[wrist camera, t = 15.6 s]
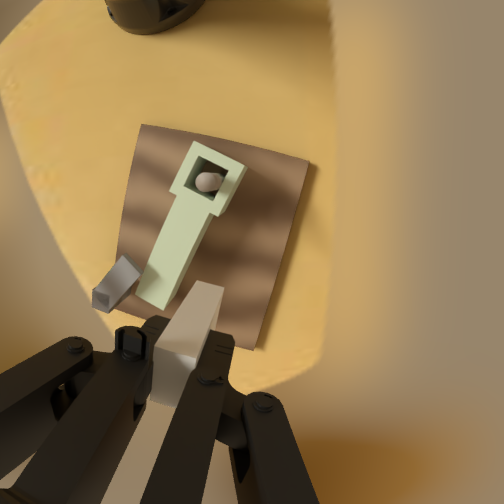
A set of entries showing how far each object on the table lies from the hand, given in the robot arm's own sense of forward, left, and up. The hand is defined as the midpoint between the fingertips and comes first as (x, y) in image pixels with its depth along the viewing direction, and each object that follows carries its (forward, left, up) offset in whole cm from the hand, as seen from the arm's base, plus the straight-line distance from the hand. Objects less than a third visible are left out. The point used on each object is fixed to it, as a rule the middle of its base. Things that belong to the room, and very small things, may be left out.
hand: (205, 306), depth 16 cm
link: (+1, -6, -22) cm, 23 cm away
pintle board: (+2, -5, -23) cm, 23 cm away
